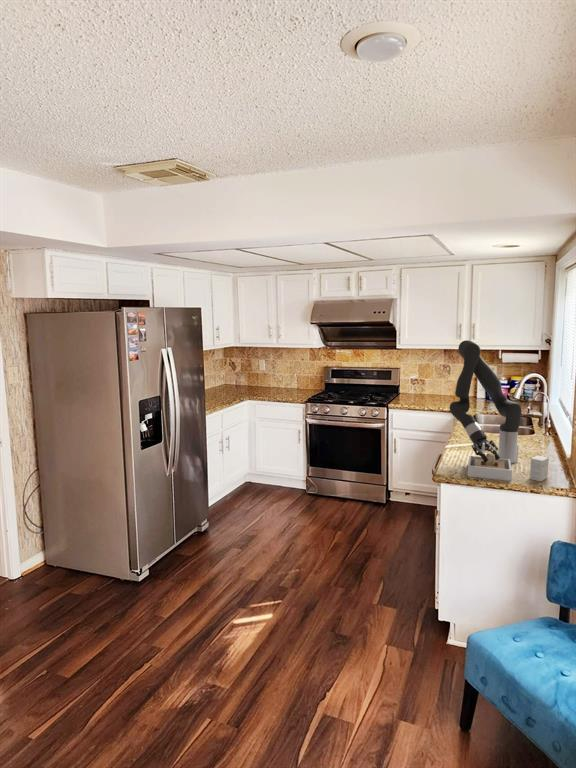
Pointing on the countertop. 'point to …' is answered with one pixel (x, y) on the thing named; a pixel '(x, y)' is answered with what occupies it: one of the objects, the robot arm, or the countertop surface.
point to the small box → (539, 468)
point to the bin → (489, 469)
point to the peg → (490, 459)
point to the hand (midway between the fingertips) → (492, 460)
